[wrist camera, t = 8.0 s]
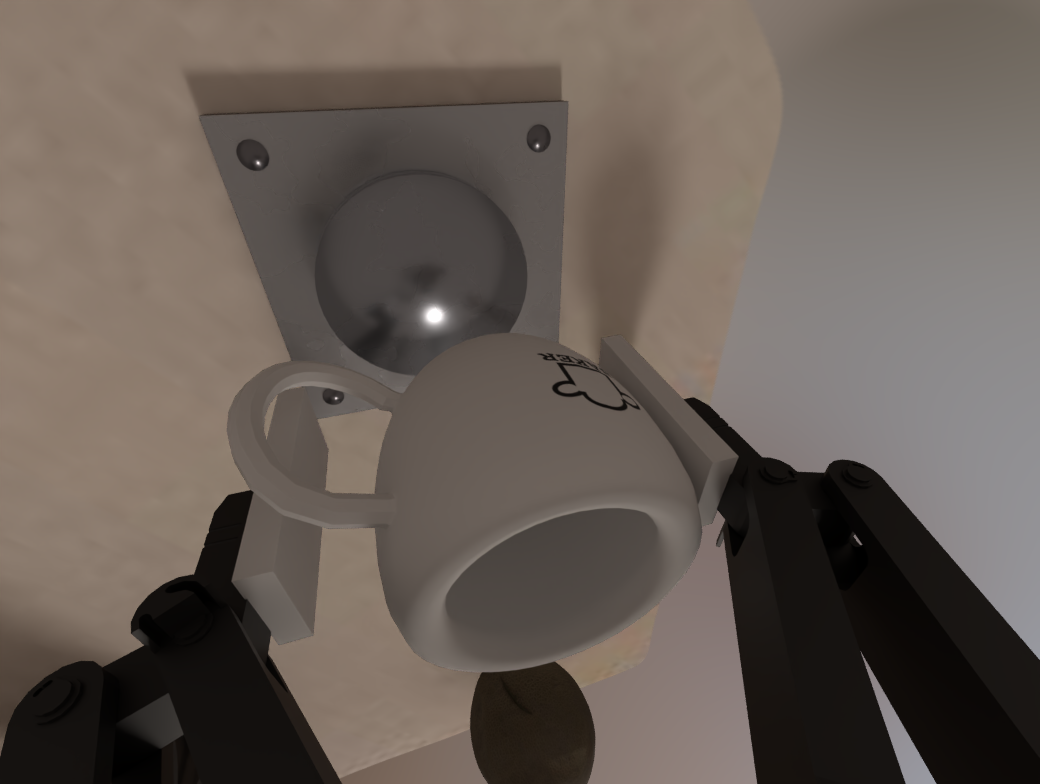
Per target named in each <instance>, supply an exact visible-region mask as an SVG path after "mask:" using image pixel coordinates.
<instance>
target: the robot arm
mask: <svg viewBox="0 0 1040 784" xmlns="http://www.w3.org/2000/svg"><path fill="white" fill-rule="evenodd" d="M599 367H600V368H602V369H603V370H604V371H605V372H607V373H608V374H609V375H610V376H612V377H613V378H614V379H615V380H616V381H617V382H619V383H620V384H621V385H622V386H623V387H624V388H625V389H626V390H627V391H628V392H629V393H630V394H631V395H632V396H633V397H634V398H635V399H636V400H637V401H638V403H639V404H640V405H641V406H642V407H643V408H644V409H645V411H646V412H647V413H648V414H649V416H650V417H651V418H652V420H653V421H654V422H655V424H656V425H657V426H658V428H659V429H660V430H661V432H662V433H663V434H664V436H665V437H666V439H667V440H668V441H669V443H670V444H671V445H672V447H673V449H674V450H675V452H676V454H677V456H678V458H679V459H680V461H681V463H682V465H683V467H684V468H685V470H686V472H687V474H688V475H689V477H690V479H691V482H692V484H693V487H694V489H695V493H696V497H697V502H698V507H699V512H700V517H701V524H702V526H705V525H709V524H712V523H713V520H714V518H715V515H716V513H717V510H718V511H719V512H720V514H721V515H722V516H723V517H724V518H725V522H724V524H723V527H722V529H721V531H720V534H719V536H718V539H717V543H716V546H718V547H720V546H721V544H722V541H723V539H724V542H725V550H726V558H727V565H728V572H729V580H730V586H731V594H732V601H733V609H734V617H735V624H736V631H737V639H738V645H739V653H740V660H741V668H742V675H743V682H744V690H745V697H746V705H747V711H748V719H749V727H750V734H751V741H752V748H753V756H754V764H755V770H756V778H757V784H905V781H904V778H903V775H902V772H901V769H900V766H899V763H898V760H897V757H896V754H895V751H894V749H893V745H892V742H891V740H890V737H889V734H888V731H887V728H886V725H885V722H884V719H883V716H882V713H881V710H880V707H879V705H878V701H877V699H876V696H875V693H874V690H873V687H872V684H871V681H870V678H869V675H868V672H867V669H866V666H865V663H864V660H863V657H862V655H861V652H862V654H863V656H864V658H865V659H866V661H867V663H868V664H869V666H870V668H871V670H872V672H873V673H874V675H875V677H876V679H877V680H878V682H879V684H880V686H881V687H882V689H883V691H884V692H885V694H886V696H887V698H888V700H889V701H890V703H891V705H892V707H893V708H894V710H895V712H896V714H897V715H898V717H899V719H900V721H901V722H902V724H903V726H904V728H905V729H906V731H907V733H908V734H909V736H910V738H911V740H912V742H913V743H914V745H915V747H916V749H917V750H918V752H919V754H920V756H921V757H922V759H923V761H924V763H925V764H926V766H927V768H928V769H929V771H930V773H931V775H932V776H933V778H934V780H935V782H936V783H937V784H1040V660H1039V659H1038V658H1037V656H1036V655H1035V654H1034V653H1033V652H1032V651H1031V649H1030V648H1029V647H1028V646H1027V645H1026V644H1025V642H1024V641H1023V640H1022V639H1021V638H1020V637H1019V636H1018V634H1017V633H1016V632H1015V631H1014V630H1013V629H1012V627H1011V626H1010V625H1009V624H1008V623H1007V622H1006V621H1005V619H1004V618H1003V617H1002V616H1001V615H1000V614H999V612H998V611H997V610H996V609H995V608H994V607H993V605H992V604H991V603H990V602H989V601H988V600H987V599H986V597H985V596H984V595H983V594H982V593H981V592H980V590H979V589H978V588H977V587H976V586H975V585H974V583H973V582H972V581H971V580H970V579H969V578H968V576H967V575H966V574H965V573H964V572H963V571H962V570H961V568H960V567H959V566H958V565H957V564H956V563H955V562H954V560H953V559H952V558H951V557H950V556H949V554H948V553H947V552H946V551H945V550H944V549H943V548H942V546H941V545H940V544H939V543H938V542H937V541H936V539H935V538H934V537H933V536H932V535H931V534H930V532H929V531H928V530H926V528H925V527H924V526H923V524H922V523H921V522H920V521H919V520H918V519H917V517H916V516H915V515H914V514H913V513H912V512H911V511H910V509H909V508H908V507H907V506H906V505H905V504H904V502H903V501H902V500H901V499H900V498H899V497H898V496H897V494H896V493H895V492H894V491H893V490H892V489H891V487H889V485H888V484H887V483H886V482H885V480H883V478H882V477H881V476H880V475H879V474H878V473H876V472H875V471H874V470H872V469H871V468H869V467H867V466H865V465H863V464H861V463H858V462H855V461H850V460H837V461H833V462H832V463H831V464H829V466H828V468H827V469H826V472H825V473H815V472H814V473H813V472H797V471H795V470H794V469H793V468H792V467H791V466H790V465H788V464H786V463H784V462H782V461H780V460H777V459H773V458H763V457H761V456H760V455H759V454H758V453H757V452H756V451H755V450H754V449H753V448H752V447H751V446H750V445H749V444H748V443H747V442H746V441H745V440H744V439H743V438H742V437H741V436H740V435H739V434H738V433H737V432H736V431H735V430H733V429H732V428H731V427H729V426H728V424H727V423H726V422H725V421H724V420H723V419H722V418H720V417H719V415H718V414H717V413H716V412H715V411H714V410H713V409H712V408H711V407H710V406H709V405H707V404H705V403H703V402H702V401H700V400H698V399H696V398H694V397H693V398H688V399H683V398H682V397H681V396H680V395H679V394H678V393H677V392H676V391H675V390H674V389H673V388H672V387H671V386H670V385H669V384H668V383H667V382H666V381H665V380H664V379H663V378H662V377H661V376H660V375H659V374H658V373H657V372H656V371H655V370H654V369H653V368H652V366H651V365H650V364H649V363H648V362H647V361H646V360H645V359H644V358H643V357H642V356H641V355H640V354H639V353H638V352H637V351H636V350H635V349H634V348H633V347H632V346H631V345H630V344H629V343H628V342H627V341H626V340H625V339H624V338H623V337H622V336H621V335H615V336H609V337H603V338H602V340H601V349H600V358H599ZM267 443H268V444H269V446H270V448H271V450H272V451H273V453H274V455H275V456H276V458H277V460H278V462H279V463H280V464H282V465H283V466H284V467H285V468H286V469H287V470H288V471H289V472H290V473H292V474H293V475H294V476H295V477H296V478H297V479H298V480H300V481H302V482H305V483H308V484H310V485H313V486H315V487H318V488H321V489H323V490H325V487H326V474H327V462H328V450H329V449H328V447H327V444H326V442H325V439H324V436H323V434H322V431H321V428H320V426H319V423H318V420H317V418H316V415H315V413H314V410H313V407H312V405H311V402H310V399H309V397H308V394H307V391H306V389H305V387H301V388H295V389H289V390H285V391H283V392H281V393H279V394H278V396H277V400H276V404H275V409H274V413H273V417H272V421H271V425H270V429H269V433H268V437H267ZM854 535H856V536H857V538H858V539H859V540H860V542H861V543H862V545H860V544H859V543H858V542H857V541H856V539H855V538H854V537H853V536H854ZM321 536H322V527H320V526H317V525H314V524H311V523H307V522H304V521H301V520H297V519H294V518H291V517H287V516H284V515H281V514H280V513H279V512H278V511H276V510H275V509H274V508H273V507H271V506H270V505H269V504H268V503H266V502H265V501H264V500H263V499H261V498H260V497H259V496H258V495H256V494H255V493H254V492H253V491H251V490H249V491H245V492H240V493H235V494H230V495H228V496H227V497H226V498H225V500H224V501H223V502H222V503H221V505H220V506H219V507H218V508H217V510H216V511H215V512H214V515H213V518H212V521H211V524H210V528H209V533H208V534H207V537H206V540H205V543H204V546H205V547H204V548H203V549H202V552H201V555H200V558H199V561H198V564H197V567H196V571H195V574H194V575H188V576H182V577H178V578H176V579H174V580H172V581H169V582H167V583H165V584H163V585H162V586H160V587H159V588H158V589H156V590H155V591H154V592H152V593H151V594H150V595H149V596H148V597H147V598H146V599H145V600H144V601H143V602H142V604H141V605H140V606H139V607H138V608H137V610H136V612H135V614H134V617H133V619H132V621H131V634H132V635H133V636H134V637H136V638H137V639H138V640H139V641H140V642H141V643H142V644H144V646H142V647H141V648H139V649H137V650H135V651H133V652H131V653H129V654H127V655H125V656H123V657H122V658H120V659H118V660H116V661H114V662H112V663H110V664H108V665H106V666H104V667H103V668H102V667H101V666H99V665H98V664H97V663H95V662H94V661H79V662H76V663H73V664H70V665H67V666H64V667H62V668H60V669H59V670H57V671H55V672H54V673H52V674H50V675H49V676H47V677H45V678H44V679H43V680H42V681H41V682H40V683H38V684H37V685H36V686H35V687H34V688H33V689H31V690H30V691H29V692H28V693H27V695H26V696H25V697H24V698H23V700H22V701H21V702H20V703H19V705H18V706H17V707H16V708H15V711H14V713H13V715H12V717H11V719H10V722H9V724H8V727H7V731H6V735H5V740H4V744H3V748H2V752H1V756H0V784H342V783H341V781H340V779H339V777H338V776H337V774H336V772H335V770H334V769H333V767H332V765H331V763H330V761H329V760H328V758H327V756H326V754H325V752H324V751H323V749H322V747H321V745H320V744H319V742H318V740H317V738H316V736H315V735H314V733H313V731H312V729H311V728H310V726H309V724H308V722H307V720H306V719H305V717H304V715H303V713H302V712H301V710H300V708H299V706H298V704H297V703H296V701H295V699H294V697H293V696H292V694H291V692H290V690H289V688H288V687H287V685H286V683H285V681H284V679H283V678H282V676H281V674H280V672H279V671H278V669H277V667H276V665H275V663H274V662H273V660H272V659H271V657H270V656H269V655H268V650H269V643H270V637H271V635H272V637H273V638H274V639H275V641H276V642H277V643H278V645H282V644H285V643H289V642H292V641H296V640H299V639H303V638H306V637H310V636H313V634H314V622H315V609H316V597H317V585H318V572H319V560H320V548H321ZM860 651H861V652H860Z"/></svg>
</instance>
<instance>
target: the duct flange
mask: <svg viewBox="0 0 1040 784" xmlns="http://www.w3.org/2000/svg"><path fill="white" fill-rule="evenodd" d="M199 118H200V121H201V124H202V126H203V129H204V132H205V134H206V137H207V139H208V142H209V145H210V147H211V150H212V152H213V155H214V158H215V160H216V163H217V166H218V168H219V171H220V173H221V176H222V179H223V181H224V184H225V187H226V189H227V192H228V194H229V197H230V200H231V202H232V205H233V208H234V210H235V213H236V215H237V218H238V221H239V223H240V226H241V228H242V231H243V234H244V236H245V239H246V242H247V244H248V247H249V249H250V252H251V255H252V257H253V260H254V263H255V265H256V268H257V270H258V273H259V276H260V278H261V281H262V284H263V286H264V289H265V291H266V294H267V297H268V299H269V302H270V304H271V307H272V310H273V312H274V315H275V318H276V320H277V323H278V325H279V328H280V331H281V333H282V336H283V339H284V341H285V344H286V346H287V349H288V352H289V354H290V357H291V360H292V361H315V362H322V363H329V364H333V365H337V366H340V367H344V368H348V369H351V370H354V371H356V372H358V373H361V374H363V375H366V376H368V377H371V378H373V379H375V380H376V381H378V382H380V383H382V384H383V385H385V386H387V387H389V388H390V389H392V390H394V391H396V392H398V393H404V392H405V390H406V388H407V387H408V386H409V384H410V383H411V382H412V380H413V379H414V378H415V377H416V376H417V374H418V373H419V372H420V371H421V370H422V369H423V367H425V366H426V365H427V364H428V363H429V362H430V361H432V360H433V359H434V358H435V357H436V356H438V355H439V354H441V353H443V352H444V351H446V350H447V349H449V348H450V347H453V346H455V345H457V344H459V343H461V342H463V341H466V340H469V339H472V338H476V337H479V336H482V335H489V334H496V333H519V334H526V335H532V336H536V337H541V338H544V339H547V340H551V341H554V342H557V343H559V318H560V294H561V270H562V245H563V221H564V197H565V173H566V148H567V124H568V101H538V102H512V103H486V104H461V105H435V106H409V107H383V108H357V109H331V110H305V111H279V112H253V113H227V114H204V115H200V116H199ZM302 387H305V389H306V391H307V394H308V397H309V399H310V402H311V405H312V407H313V410H314V413H315V415H316V418H317V419H321V418H327V417H332V416H338V415H343V414H349V413H354V412H359V411H365V410H370V409H376V407H374V406H373V405H371V404H369V403H367V402H366V401H364V400H362V399H360V398H357V397H355V396H353V395H350V394H348V393H345V392H342V391H338V390H334V389H330V388H325V387H316V386H302Z"/></svg>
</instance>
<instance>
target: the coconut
mask: <svg viewBox="0 0 1040 784" xmlns="http://www.w3.org/2000/svg"><path fill="white" fill-rule="evenodd" d="M470 731H471V740H472V745H473V750H474V754H475V758H476V761H477V764H478V767H479V769H480V771H481V773H482V775H483V777H484V778H485V780H486V781H487V783H488V784H587V783H588V780H589V778H590V775H591V771H592V767H593V762H594V755H595V729H594V724H593V720H592V716H591V712H590V709H589V706H588V704H587V702H586V699H585V698H584V695H583V693H582V691H581V690H580V688H579V686H578V685H577V683H576V682H575V680H574V679H573V678H572V676H571V675H570V674H569V673H568V672H567V671H566V670H565V669H563V668H562V667H561V666H560V665H559V664H557V663H556V662H555V661H554V662H551V663H547V664H543V665H539V666H535V667H530V668H524V669H519V670H511V671H501V672H482V673H481V675H480V677H479V679H478V682H477V685H476V688H475V692H474V696H473V701H472V707H471V717H470Z"/></svg>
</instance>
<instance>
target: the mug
mask: <svg viewBox="0 0 1040 784" xmlns="http://www.w3.org/2000/svg"><path fill="white" fill-rule="evenodd" d="M298 386H316V387H325V388H330V389H334V390H338V391H342V392H345V393H348V394H350V395H353V396H355V397H357V398H360V399H362V400H364V401H366V402H367V403H369V404H371V405H373V406H374V407H376V408H378V409H380V410H383V411H390V412H391V413H392V418H391V420H390V423H389V425H388V428H387V431H386V433H385V437H384V440H383V443H382V447H381V452H380V457H379V463H378V469H377V477H376V485H375V494H352V493H331V492H329V491H326V490H323V489H321V488H318V487H315V486H313V485H310V484H308V483H305V482H302V481H300V480H298V479H297V478H296V477H295V476H294V475H293V474H292V473H290V472H289V471H288V470H287V469H286V468H285V467H284V466H283V465H282V464H280V463H279V462H278V460H277V458H276V456H275V455H274V453H273V451H272V450H271V448H270V446H269V444H268V443H267V440H266V436H265V433H264V420H265V415H266V412H267V409H268V407H269V405H270V403H271V402H272V401H273V399H274V398H275V396H276V395H277V394H279V393H281V392H283V391H285V390H287V389H290V388H294V387H298ZM227 434H228V439H229V443H230V448H231V452H232V456H233V459H234V462H235V464H236V466H237V468H238V469H239V471H240V473H241V474H242V476H243V478H244V480H245V481H246V483H247V485H248V487H249V488H250V490H251V491H253V492H254V493H255V494H256V495H258V496H259V497H260V498H261V499H263V500H264V501H265V502H266V503H268V504H269V505H270V506H271V507H273V508H274V509H275V510H276V511H278V512H279V513H280V514H281V515H284V516H287V517H291V518H294V519H297V520H301V521H304V522H307V523H311V524H314V525H317V526H320V527H324V528H327V529H343V528H375V533H376V545H377V557H378V566H379V571H380V576H381V580H382V585H383V590H384V594H385V599H386V603H387V606H388V609H389V611H390V614H391V617H392V618H393V620H394V622H395V623H396V625H397V627H398V628H399V630H400V632H401V633H402V635H403V637H404V639H405V640H406V642H407V643H408V645H409V646H410V647H411V649H412V650H413V651H414V652H415V653H416V654H417V655H419V656H420V657H421V658H423V659H424V660H426V661H428V662H430V663H432V664H435V665H437V666H439V667H443V668H447V669H452V670H456V671H466V672H501V671H511V670H519V669H524V668H530V667H535V666H539V665H543V664H547V663H551V662H554V661H557V660H560V659H563V658H566V657H569V656H572V655H574V654H577V653H579V652H582V651H584V650H586V649H589V648H591V647H593V646H595V645H597V644H599V643H601V642H603V641H605V640H607V639H609V638H610V637H612V636H614V635H616V634H618V633H619V632H621V631H622V630H624V629H626V628H627V627H629V626H630V625H632V624H633V623H635V622H636V621H637V620H639V619H640V618H641V617H643V616H644V615H645V614H647V613H648V612H649V611H650V610H651V609H652V608H654V607H655V606H656V605H657V604H658V603H659V602H660V601H661V600H662V599H663V598H664V597H666V595H667V594H668V593H669V592H670V591H671V590H672V589H673V588H674V587H675V586H676V585H677V584H678V582H679V581H680V580H681V579H682V577H683V576H684V575H685V573H686V572H687V570H688V569H689V567H690V566H691V564H692V562H693V560H694V559H695V556H696V554H697V551H698V549H699V546H700V542H701V536H702V524H701V517H700V512H699V507H698V502H697V497H696V493H695V489H694V487H693V484H692V482H691V479H690V477H689V475H688V474H687V472H686V470H685V468H684V467H683V465H682V463H681V461H680V459H679V458H678V456H677V454H676V452H675V450H674V449H673V447H672V445H671V444H670V443H669V441H668V440H667V439H666V437H665V436H664V434H663V433H662V432H661V430H660V429H659V428H658V426H657V425H656V424H655V422H654V421H653V420H652V418H651V417H650V416H649V414H648V413H647V412H646V411H645V409H644V408H643V407H642V406H641V405H640V404H639V403H638V401H637V400H636V399H635V398H634V397H633V396H632V395H631V394H630V393H629V392H628V391H627V390H626V389H625V388H624V387H623V386H622V385H621V384H620V383H619V382H617V381H616V380H615V379H614V378H613V377H612V376H610V375H609V374H608V373H607V372H605V371H604V370H603V369H602V368H600V367H599V366H598V365H596V364H595V363H594V362H592V361H591V360H589V359H587V358H586V357H584V356H582V355H580V354H579V353H577V352H575V351H573V350H571V349H569V348H567V347H565V346H563V345H561V344H559V343H557V342H554V341H551V340H547V339H544V338H541V337H536V336H532V335H526V334H519V333H496V334H489V335H482V336H479V337H476V338H472V339H469V340H466V341H463V342H461V343H459V344H457V345H455V346H453V347H450V348H449V349H447V350H446V351H444V352H443V353H441V354H439V355H438V356H436V357H435V358H434V359H433V360H432V361H430V362H429V363H428V364H427V365H426V366H425V367H423V369H422V370H421V371H420V372H419V373H418V374H417V376H416V377H415V378H414V379H413V380H412V382H411V383H410V384H409V386H408V387H407V388H406V390H405V392H404V393H398V392H396V391H394V390H392V389H390V388H389V387H387V386H385V385H383V384H382V383H380V382H378V381H376V380H375V379H373V378H371V377H368V376H366V375H363V374H361V373H358V372H356V371H354V370H351V369H348V368H344V367H340V366H337V365H333V364H329V363H322V362H315V361H289V362H284V363H279V364H275V365H273V366H271V367H269V368H267V369H264V370H263V371H261V372H260V373H259V374H257V375H256V376H255V377H254V378H252V379H251V380H250V381H249V382H248V383H246V384H245V385H244V386H243V388H242V389H241V390H240V391H239V393H238V394H237V395H236V396H235V398H234V400H233V403H232V405H231V407H230V409H229V412H228V422H227Z"/></svg>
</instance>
